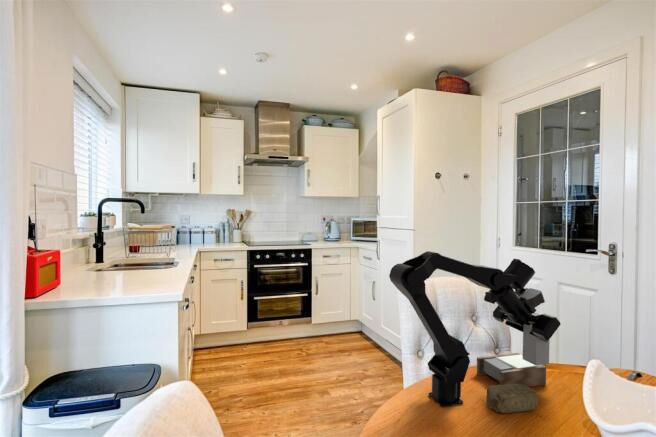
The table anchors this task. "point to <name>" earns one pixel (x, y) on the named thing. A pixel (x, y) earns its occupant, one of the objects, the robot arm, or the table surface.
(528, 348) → the granite pillar
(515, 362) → the trapdoor flap
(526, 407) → the stone block
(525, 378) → the frame
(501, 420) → the table surface
